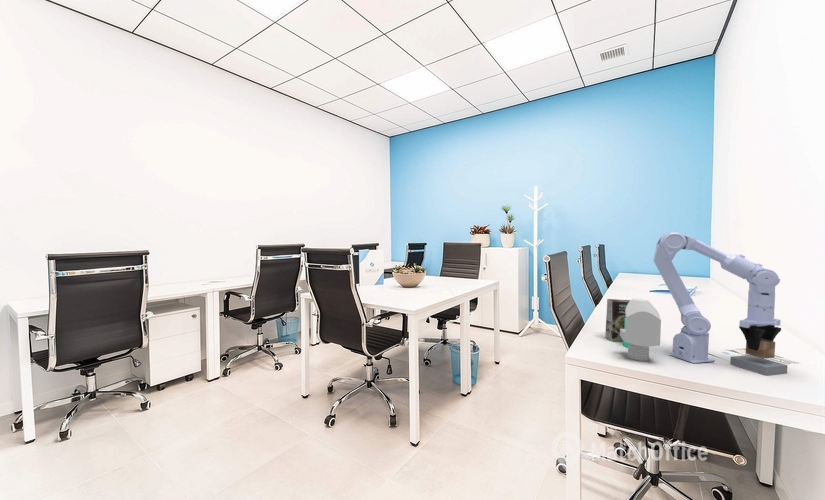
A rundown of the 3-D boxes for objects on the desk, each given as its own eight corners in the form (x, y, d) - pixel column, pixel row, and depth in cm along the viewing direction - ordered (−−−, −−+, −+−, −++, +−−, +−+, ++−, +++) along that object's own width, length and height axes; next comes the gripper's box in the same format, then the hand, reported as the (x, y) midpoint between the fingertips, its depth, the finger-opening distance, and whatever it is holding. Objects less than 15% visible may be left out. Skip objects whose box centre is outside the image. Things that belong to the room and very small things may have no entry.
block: (763, 358, 98) (764, 342, 98) (745, 353, 103) (746, 337, 103) (774, 357, 99) (775, 341, 99) (756, 352, 104) (757, 337, 103)
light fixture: (650, 355, 112) (652, 298, 111) (659, 365, 103) (661, 303, 102) (619, 351, 115) (621, 296, 115) (625, 360, 107) (627, 301, 106)
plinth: (766, 375, 96) (766, 367, 96) (730, 364, 105) (730, 356, 105) (787, 373, 98) (787, 365, 98) (750, 362, 107) (750, 354, 107)
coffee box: (611, 341, 127) (613, 301, 126) (604, 336, 133) (606, 298, 133) (637, 343, 125) (638, 302, 125) (628, 338, 132) (630, 299, 131)
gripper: (760, 309, 95) (758, 354, 96) (794, 308, 99) (792, 351, 99) (732, 305, 102) (730, 347, 102) (764, 303, 105) (762, 344, 106)
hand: (758, 348), depth 101 cm, fingers closed on block, 5 cm apart
